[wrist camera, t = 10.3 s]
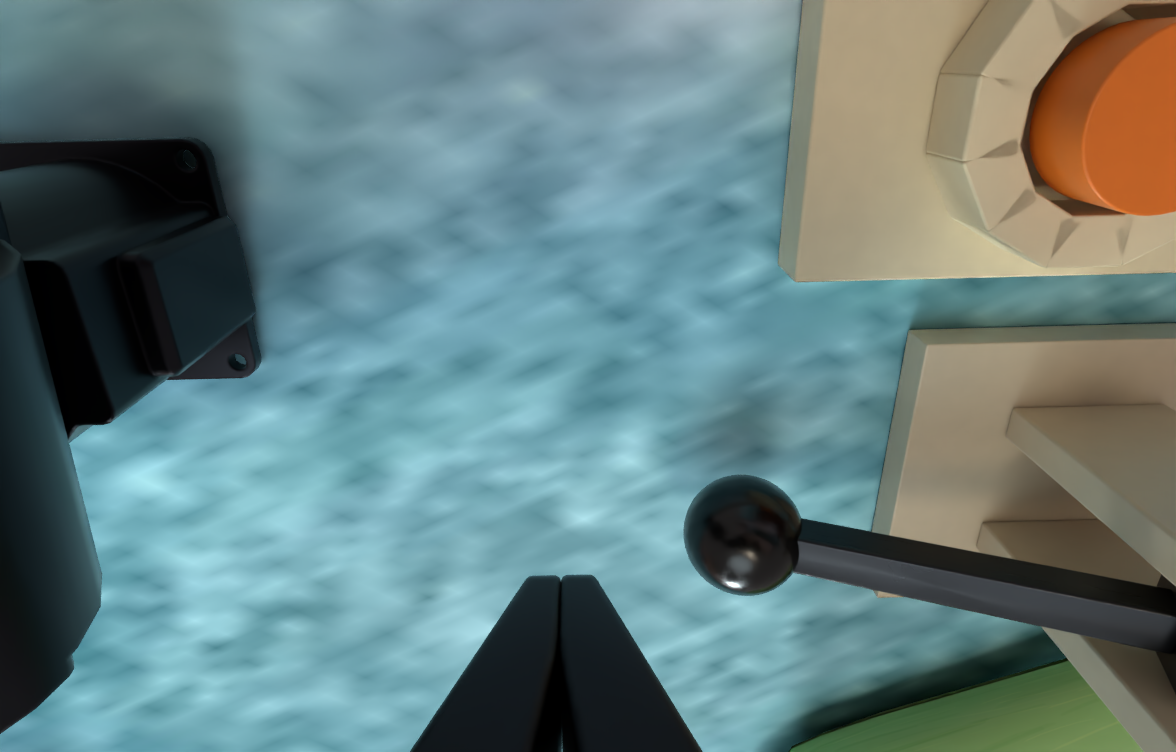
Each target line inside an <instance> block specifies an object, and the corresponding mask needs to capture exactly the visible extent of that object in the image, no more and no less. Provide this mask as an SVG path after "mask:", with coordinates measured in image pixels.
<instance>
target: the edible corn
mask: <svg viewBox="0 0 1176 752" xmlns="http://www.w3.org/2000/svg"><path fill="white" fill-rule="evenodd" d="M789 752H1144V751H1143V750H1142V749H1141V748H1140V747H1139V745H1138V744H1137V743H1136V742H1135V740H1134V739H1133V738H1132V737H1131V736H1130V734H1129V733H1128V732H1127V731H1126V729H1125V728H1124V727H1123V726H1122V725H1121V723H1120V722H1119V721H1118V720H1117V718H1116V717H1115V716H1114V715H1113V714H1112V712H1111V711H1110V710H1109V709H1108V708H1107V706H1106V705H1105V704H1104V703H1103V701H1102V700H1101V699H1100V698H1099V697H1098V695H1097V694H1096V693H1095V692H1094V690H1093V689H1092V688H1091V687H1090V686H1089V684H1088V683H1087V682H1086V681H1085V679H1084V678H1083V677H1082V676H1081V675H1080V673H1079V672H1078V671H1077V670H1076V668H1075V667H1074V666H1073V665H1072V664H1071V662H1070V661H1069V660H1068V659H1067V658H1066V659H1062V660H1059V661H1055V662H1052V663H1049V664H1045V665H1042V666H1038V667H1035V668H1032V669H1028V670H1025V671H1021V672H1018V673H1014V674H1011V675H1008V676H1004V677H1001V678H997V679H994V680H991V681H987V682H984V683H980V684H977V685H973V686H970V687H967V688H963V689H960V690H956V691H953V692H949V693H946V694H943V695H939V696H936V697H932V698H929V699H925V700H922V701H918V702H915V703H912V704H908V705H905V706H901V707H898V708H894V709H891V710H887V711H884V712H881V713H878V714H875V715H872V716H869V717H867V718H864V719H861V720H858V721H855V722H852V723H849V724H847V725H844V726H841V727H838V728H835V729H832V730H830V731H827V732H824V733H822V734H820V735H817V736H815V737H812V738H810V739H808V740H805V741H803V742H801V743H798V744H796V745H794V746H792V747H791V749H790V750H789Z"/></svg>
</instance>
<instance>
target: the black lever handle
mask: <svg viewBox="0 0 1176 752" xmlns="http://www.w3.org/2000/svg"><path fill="white" fill-rule="evenodd" d="M684 543H685V548H686V551H687V554H688V556H689V559H690V561H691V563H692V564H693V566H694V567H695V569H696V570H697V572H698V573H699V574H700V575H701V576H702V577H703V578H704V579H705V580H706V581H707V582H709V583H710V584H711V585H713V586H715V587H716V588H718V589H720V590H722V591H725V592H727V593H731V594H735V595H742V596H753V595H759V594H763V593H767V592H769V591H772V590H774V589H775V588H777V587H779V586H780V585H782V584H783V583H784V582H785V581H786V580H787V579H788V578H789V577H790V576H791V575H792V574H793V573H797V574H802V575H807V576H811V577H816V578H820V579H825V580H830V581H834V582H839V583H843V584H848V585H853V586H857V587H862V588H866V589H871V590H876V591H880V592H885V593H889V594H894V595H899V596H903V597H908V598H912V599H917V600H922V601H926V602H931V603H935V604H940V605H945V606H949V607H954V608H958V609H963V610H968V611H972V612H977V613H981V614H986V615H991V616H995V617H1000V618H1004V619H1009V620H1014V621H1018V622H1023V623H1027V624H1032V625H1037V626H1041V627H1046V628H1050V629H1055V630H1060V631H1064V632H1069V633H1073V634H1078V635H1083V636H1087V637H1092V638H1096V639H1101V640H1106V641H1110V642H1115V643H1119V644H1124V645H1129V646H1133V647H1138V648H1142V649H1147V650H1152V651H1155V652H1156V654H1157V656H1158V658H1159V660H1160V662H1161V664H1162V667H1163V669H1164V671H1165V673H1166V675H1167V677H1168V679H1169V682H1170V684H1171V686H1172V688H1173V690H1174V692H1175V694H1176V586H1175V585H1173V584H1172V583H1171V582H1170V581H1169V580H1168V579H1167V578H1165V577H1164V576H1163V575H1162V574H1161V576H1160V579H1159V581H1158V584H1157V586H1152V585H1147V584H1142V583H1136V582H1131V581H1126V580H1121V579H1116V578H1110V577H1105V576H1100V575H1095V574H1089V573H1084V572H1079V571H1074V570H1069V569H1063V568H1058V567H1053V566H1048V565H1042V564H1037V563H1032V562H1027V561H1021V560H1016V559H1011V558H1006V557H1001V556H995V555H990V554H985V553H980V552H974V551H969V550H964V549H959V548H953V547H948V546H943V545H938V544H933V543H927V542H922V541H917V540H912V539H906V538H901V537H896V536H891V535H886V534H880V533H875V532H870V531H865V530H859V529H854V528H849V527H844V526H838V525H833V524H828V523H823V522H818V521H812V520H807V519H802V518H801V516H800V514H799V512H798V510H797V508H796V506H795V504H794V503H793V501H792V500H791V499H790V498H789V497H788V495H787V494H786V493H785V492H784V491H783V490H781V489H780V488H779V487H777V486H776V485H774V484H773V483H771V482H769V481H767V480H765V479H762V478H759V477H755V476H751V475H731V476H727V477H723V478H720V479H718V480H716V481H714V482H712V483H710V484H709V485H707V486H706V487H705V488H703V489H702V490H701V491H700V492H699V493H698V494H697V496H696V497H695V498H694V500H693V501H692V503H691V505H690V507H689V509H688V511H687V514H686V518H685V521H684Z"/></svg>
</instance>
